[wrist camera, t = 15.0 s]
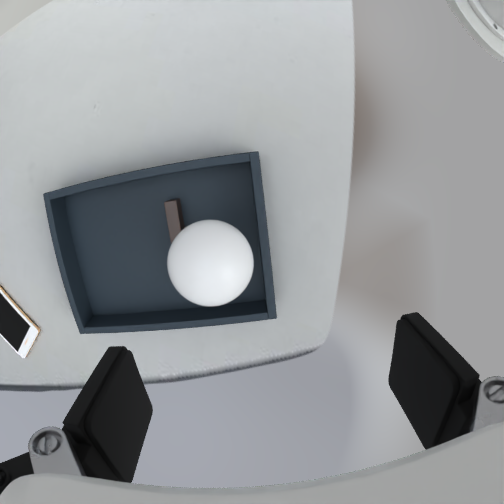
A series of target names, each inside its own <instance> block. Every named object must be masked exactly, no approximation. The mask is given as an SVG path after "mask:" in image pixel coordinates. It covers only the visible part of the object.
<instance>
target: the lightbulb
mask: <svg viewBox="0 0 504 504" xmlns="http://www.w3.org/2000/svg"><path fill="white" fill-rule="evenodd" d="M253 268H254V259H253V253H252V249H251V247H250V244H249V242H248V241H247V239H246V238H245V236H244V235H243V234H242V233H241V232H240V231H239V230H238V229H237V228H235V227H234V226H232V225H230V224H228V223H226V222H223V221H220V220H201V221H197V222H195V223H192V224H190V225H188V226H187V227H185V228H184V229H183V230H182V231H181V232H180V233H179V234H178V235H177V236H176V237H175V239H174V240H173V242H172V244H171V246H170V249H169V252H168V257H167V269H168V274H169V277H170V280H171V282H172V284H173V286H174V287H175V289H176V290H177V291H178V292H179V293H180V294H181V295H182V296H183V297H184V298H185V299H187V300H189V301H190V302H192V303H195V304H197V305H201V306H209V307H212V306H220V305H223V304H226V303H229V302H231V301H232V300H234V299H236V298H237V297H238V296H239V295H240V294H241V293H242V292H243V291H244V290H245V289H246V287H247V286H248V284H249V282H250V280H251V277H252V274H253Z"/></svg>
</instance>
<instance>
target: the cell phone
mask: <svg viewBox="0 0 504 504" xmlns="http://www.w3.org/2000/svg"><path fill="white" fill-rule="evenodd" d="M39 332H40V329H39V328H38V327H37V326H36V325H35V324H34V323H33V322H32V321H31V320H30V319H29V318H28V317H27V316H26V314H25V313H24V312H23V311H22V310H21V309H20V308H19V307H18V306H17V305H16V304H15V302H14V301H13V300H12V299H11V298H10V297H9V296H8V295H7V293H6V292H5V291H4V290H3V289H2V287H1V286H0V335H1V336H2V337H3V339H4V340H5V341H6V342H7V343H8V344H9V345H10V346H11V347H12V348H13V349H14V350H15V351H16V352H17V353H18V354H19V355H20V356H21V357H22V358H23V359H24V358H25V357H26V356H27V354H28V352H29V350H30V349H31V347H32V345H33V343H34V341H35V339H36V338H37V336H38V334H39Z"/></svg>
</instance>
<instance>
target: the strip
mask: <svg viewBox="0 0 504 504" xmlns="http://www.w3.org/2000/svg"><path fill="white" fill-rule="evenodd" d="M164 206H165V212H166V218H167V224H168V230H169V235H170V241H171V244H172V242H173V240H174V239H175V237H176V236H177V235H178V234H179V233H180V232H181V231H182V230H183V229H184V228H185V227H184V221H183V215H182V208H181V202H180V198H178V199H172V200H168V201H166V202H164Z"/></svg>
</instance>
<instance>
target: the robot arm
mask: <svg viewBox="0 0 504 504" xmlns="http://www.w3.org/2000/svg"><path fill="white" fill-rule="evenodd" d="M468 2H469V4H470V5H471V7H472V9H473V10H474V12H475V13H476V14H477V16H478V17H479V18H480V20H481V21H482V22H483V23H484V25H485V26H486V27H487V28H488V29H489V30H490V31H491V32H492V33H493V34H494V35H496V36H497V37H498V38H500V39H501V40H503V41H504V0H468ZM478 378H479V374H478V373H477V372H476V371H475V370H474V369H473V368H472V367H471V366H470V364H468V363H467V361H466V360H465V359H464V358H463V357H462V356H461V355H460V354H459V353H458V352H457V351H456V350H455V349H454V348H453V347H452V346H451V345H450V344H449V343H448V342H447V341H446V340H445V339H444V338H443V337H442V336H441V335H440V334H439V333H438V332H437V331H436V330H435V329H434V328H433V327H432V326H431V325H430V324H429V323H428V322H427V321H426V320H425V319H424V318H423V317H422V316H421V315H420V314H419V313H417V312H415V313H410V314H405V315H402V317H401V319H400V320H398V321H397V325H396V333H395V340H394V348H393V354H392V361H391V367H390V373H389V386H390V388H391V390H392V391H393V393H394V395H395V397H396V398H397V400H398V402H399V404H400V405H401V407H402V409H403V410H404V412H405V414H406V416H407V418H408V419H409V421H410V423H411V424H412V426H413V428H414V430H415V432H416V434H417V435H418V437H419V439H420V441H421V443H422V444H423V446H424V448H425V449H426V450H424V451H421V452H418V453H415V454H412V455H410V456H407V457H404V458H401V459H398V460H394V461H391V462H388V463H384V464H381V465H377V466H374V467H370V468H366V469H362V470H358V471H354V472H349V473H345V474H340V475H335V476H330V477H326V478H320V479H314V480H308V481H302V482H294V483H287V484H278V485H269V486H257V487H239V488H181V487H164V486H153V485H143V484H134V483H131V482H132V480H133V477H134V473H135V470H136V466H137V463H138V459H139V456H140V452H141V449H142V446H143V442H144V439H145V436H146V433H147V429H148V426H149V423H150V420H151V416H152V411H153V409H152V405H151V402H150V399H149V397H148V394H147V392H146V389H145V387H144V384H143V382H142V379H141V376H140V374H139V371H138V368H137V366H136V363H135V360H134V357H133V354H132V352H131V351H130V350H127V348H126V347H124V346H116V347H109V348H108V349H107V351H106V352H105V354H104V355H103V357H102V359H101V360H100V362H99V363H98V365H97V366H96V368H95V370H94V371H93V373H92V374H91V376H90V378H89V379H88V381H87V382H86V384H85V386H84V387H83V389H82V391H81V392H80V394H79V395H78V397H77V399H76V401H75V402H74V404H73V406H72V407H71V409H70V411H69V412H68V414H67V416H66V417H65V419H64V421H63V424H64V426H63V428H62V430H61V429H60V428H57V427H45V428H42V429H40V430H38V431H37V432H35V433H34V434H33V435H32V437H31V438H30V441H29V443H28V449H29V452H27V453H25V454H22V455H20V456H18V457H15V458H13V459H10V460H8V461H5V462H2V463H0V504H504V377H500V376H494V377H489V378H487V379H485V380H484V381H483V382H481V381H480V380H479V379H478Z"/></svg>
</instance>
